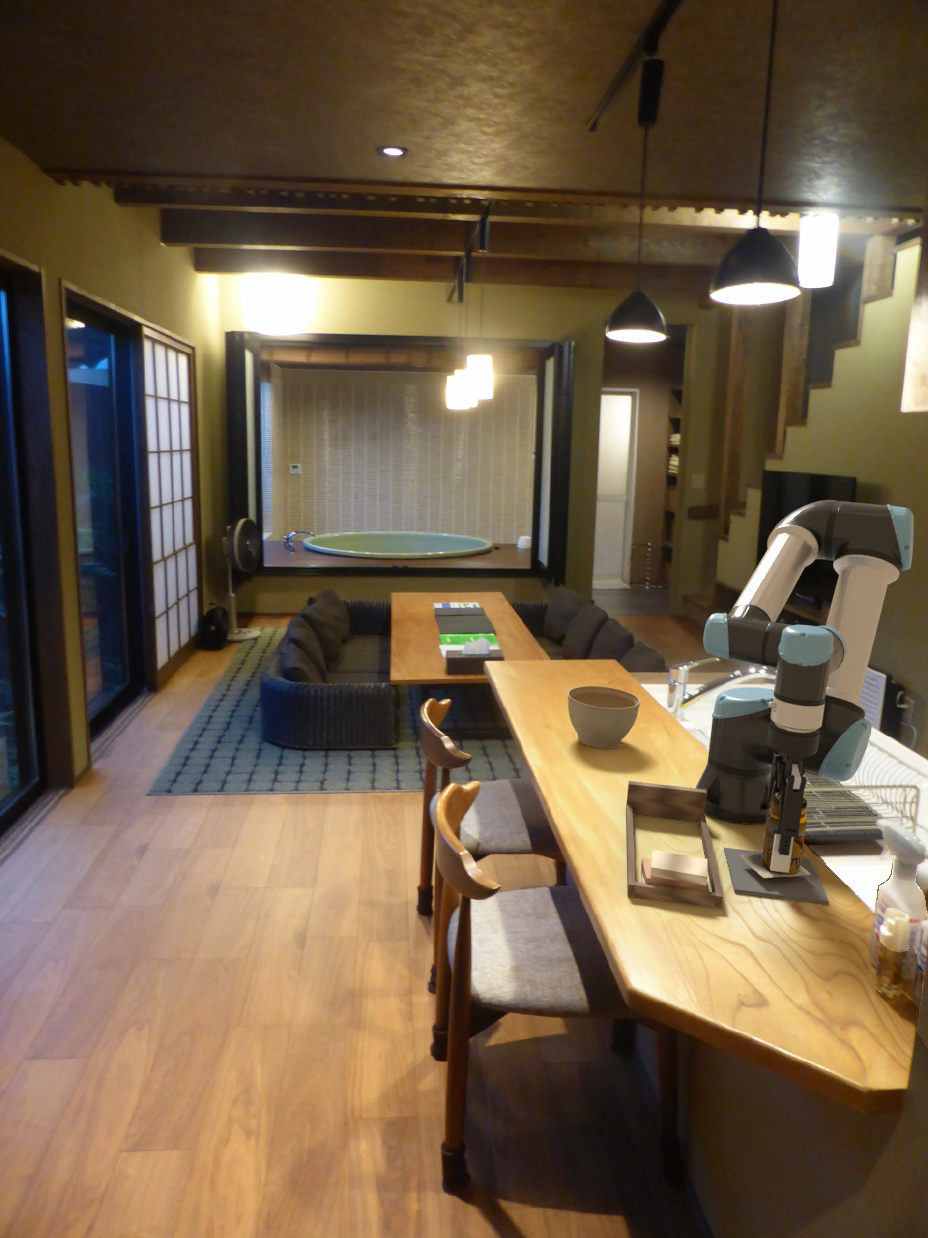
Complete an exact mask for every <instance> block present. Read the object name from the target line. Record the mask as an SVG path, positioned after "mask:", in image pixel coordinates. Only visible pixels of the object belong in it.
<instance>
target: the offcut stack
mask: <svg viewBox="0 0 928 1238" xmlns="http://www.w3.org/2000/svg"><path fill="white" fill-rule="evenodd" d="M651 855H652V857H651V858H641V864H640V865H641V866H640V878H641V882H640V883H647V884H655V885H663V886H670V887H678V888H685V889H693V890H701V891H708V892H710V889H709V888H710V887H709V884H708V883H709V882H708V878H709V876H708V871H707V859H705V857H704V858H703V857H698V856H692V855H686V854H681V853H680V854H679V853H673V852H668V851H662V850H656V849H652V854H651Z"/></svg>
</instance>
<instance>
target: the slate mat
mask: <svg viewBox="0 0 928 1238" xmlns="http://www.w3.org/2000/svg"><path fill="white" fill-rule="evenodd" d="M723 852H724V857H725V856H726V857H725V860H726V859H727V861H726V865H727V864H728V865H727V869H728V868H729V869H728V872H729V876H730V881H731V884H732V888H733V889H732V890H733V892H734V893H735V894H744V895H752V896H759V897H767V898H772V899H773V898H774V899H780V900H781V899H783V900H790V901H798V902H804V903H814V904H820V905H826V906H827V905H828V906H829V905H830V904H829V903H830V900H829V898H828V896H827V892H826V891H825V889H824V887H823V885H822V882H821V880H820V878H819V876H818V874H817V871H816V869H815V867H814V864H813V862H812V860H811V857H805V856H802V858H801V864H800V866H802V867H803V868H804V869H805V870H806V871H808V872H809V873H810V875H803V876H792V877H773V878H763V877H762V876H761V875H759V874H758V873H757V872H756V871H755V870H753V868H752V867H751V866H750V865H749V864H748V863H747V862H746V861H745V860H744V859H743V858H742V857H741V856H740V855H743V854H748V855H749V854H762V851H757V850H748V849H740V848H732V847H726V846H725V847H724V848H723Z"/></svg>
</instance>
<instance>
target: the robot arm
mask: <svg viewBox="0 0 928 1238" xmlns="http://www.w3.org/2000/svg"><path fill="white" fill-rule="evenodd" d="M914 519H915V518H914V513H913V511H912V510H910V508H907V507H904V506H903V507H902V506H896V505H895V506H894V505H891V504H889V503H888V504H875V503H864V502H863V503H861V502H855V501H853V502H851V501H842V500H841V501H840V500H835V499H834V500H833V499H827V500H826V499H824V500H818V501H815V502H810V503H809V504H806V505H803V506H802V507H800V508H797V509H795V510H793V511H792V512H791V513H789V514H788V515H786V516H785V517H784V518H782V519H781V520H780V521H779V522H778V523H777V524H776V525H775V526H774V528H773V530H772V532H770V534H769V536H768V538H767V542H766V543H767V544H766V545H767V546H766V547H767V550H766V552H765V553H764V555H763V557H762V558H761V560H760V561H759V563H758V564H757V567H756V569H755V570H754V572H753V574H752V575H751V577H750V578H749V580H748V581H747V583H746V585H745V587H744V588H743V590H742V591H741V593H740V595H739V597H738V599H737V601H736V602H735V603H734V605H733V607H732V609H731V611H729V613H727V612H723V613H720V612H715V613H712V614H711V615H710V616H709V617H708V619H707V620H706V623H705V626H704V631H703V637H702V639H703V640H702V641H703V648H704V650H705V652H706V653H707V654H709V655H711V656H713V657H714V656H715V657H718V658H721V659H725V660H728V661H729V660H730V661H736V662H740V663H741V662H742V663H747V664H752V665H759V666H765V667H767V668H768V667H769V668H773V669H776V673H775V681H774V687H773V688H774V689H771V688H765V687H755V686H754V687H753V686H752V687H751V686H750V687H749V686H747V687H745V686H744V687H736V688H733V687H732V688H728V689H726V690H723V691H721V692H720V693H718V695H717V696H716V698H715V701H714V702H715V703H714V708H713V712H712V713H711V718H712V720H711V729H710V739H709V745H708V755H707V761H706V762H707V763H706V766H705V768H704V770H703V771H702V774H701V775H700V777H699V780H698V782H697V784H696V786H695V788H696V789H705V790H707V798H706V806H705V815H707V816H710V817H713V818H714V819H718V820H721V821H726V822H727V823H728V822H729V823H734V824H743V825H760V824H766V819H767V812H768V810H769V808H770V807H771V802H772V796H773V795H774V793H776V792H780V804H779V818H778V829H777V830H775V829H773V834H775V837H774V844H773V851H772V858H771V865H770V869H771V871H779V872H787V873H789V867H790V861H791V854H792V847H793V840H794V837H796V838H798V835H799V826H800V818H801V810H802V803H803V797H804V792H805V788H806V784H807V782H808V779H807V777H806V776H804V775H806V774H807V775H810V776H814V777H818V778H819V779H822V780H824V779H827V780H832V781H837V782H847V781H848V780H850V779H852V778H853V777H854V776H855V774H856V773H857V771H858V769H859V768H860V766H861V763H862V761H863V758H864V757H865V754H866V751H867V748H868V745H869V741H870V737H871V735H872V728H873V727H872V723H871V721H869V720H868V719H866V718H865V717H866V713H867V712H866V709H865V707H864V706H863V704H862V703H861V702H860V698H861V694H862V690H863V686H864V681H865V678H866V673H867V670H868V666H869V661H870V658H871V654H872V650H873V646H874V642H875V638H876V633H877V629H878V626H879V621H880V617H881V613H882V609H883V605H884V600H885V597H886V593H887V589H888V585H890V584H892V583H894V582H896V581H897V580H898V579H899V577H900V573H901V571H908V570H910V569H911V567H912V562H913V553H914V552H913V551H914V534H915V533H914V531H915V527H914V525H915V524H914V523H915V522H914ZM815 560H826V561H832V562H833V564H832V565H833V569H834V571H835V572H836V573H837V574H838V579H837V582H836V585H835V590H834V593H833V597H832V601H831V605H830V609H829V612H828V617H827V621H826V623H825V625H817V626H815V625H807V624H794V625H793V624H786V623H780V622H776V621H777V620H778V618H779V615H780V614H781V612H782V610H783V608H784V607H785V604H786V602H787V601H788V598H789V597H790V596H791V593H792V592H793V590H794V588H795V586H796V584H797V582H798V580H799V579H800V577H801V575H802V573H803V571H804V569H805V568H806V567H808V566H810V565H811V564H812V563H814V561H815Z"/></svg>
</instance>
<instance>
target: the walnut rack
mask: <svg viewBox="0 0 928 1238" xmlns="http://www.w3.org/2000/svg"><path fill="white" fill-rule="evenodd" d="M626 795H627V796H626V804H625V833H626V834H625V836H626V837H625V839H626V847H625V848H626V882H627V883H626V885H627V887H626V889H627V892H626V893H627V897H630V898H639V899H645V900H654V901H660V902H661V901H662V902H669V903H677V904H684V905H692V906H700V907H704V908H706V907H707V908H713V909H723V902H724V893H723V890H722V885H721V880H720V876H719V872H718V866H717V863H716V858H715V854H714V849H713V844H712V839H711V836H710V832H709V827H708V822H707V818H706V813H705V806H706V798H707V790H705V789H696V787H686V786H685V787H684V786H676V785H667V784H659V783H650V782H643V781H634V780H628V784H627V794H626ZM634 816H640V817H647V818H654V819H655V818H656V819H664V820H672V821H680V822H688V823H695V824H696V823H697V826H698V830H699V836H700V841H701V840H702V841H701V845H702V851H703V855H705V856H704V859H707V876H708V880H709V885H710V890H711V891H709V892H708V891H701V890H693V889H685V888H678V887H670V886H663V885H655V884H647V883H642V882H638V881H636V868H635V867H636V866H635V865H636V864H635V839H634V837H635V836H634Z"/></svg>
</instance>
